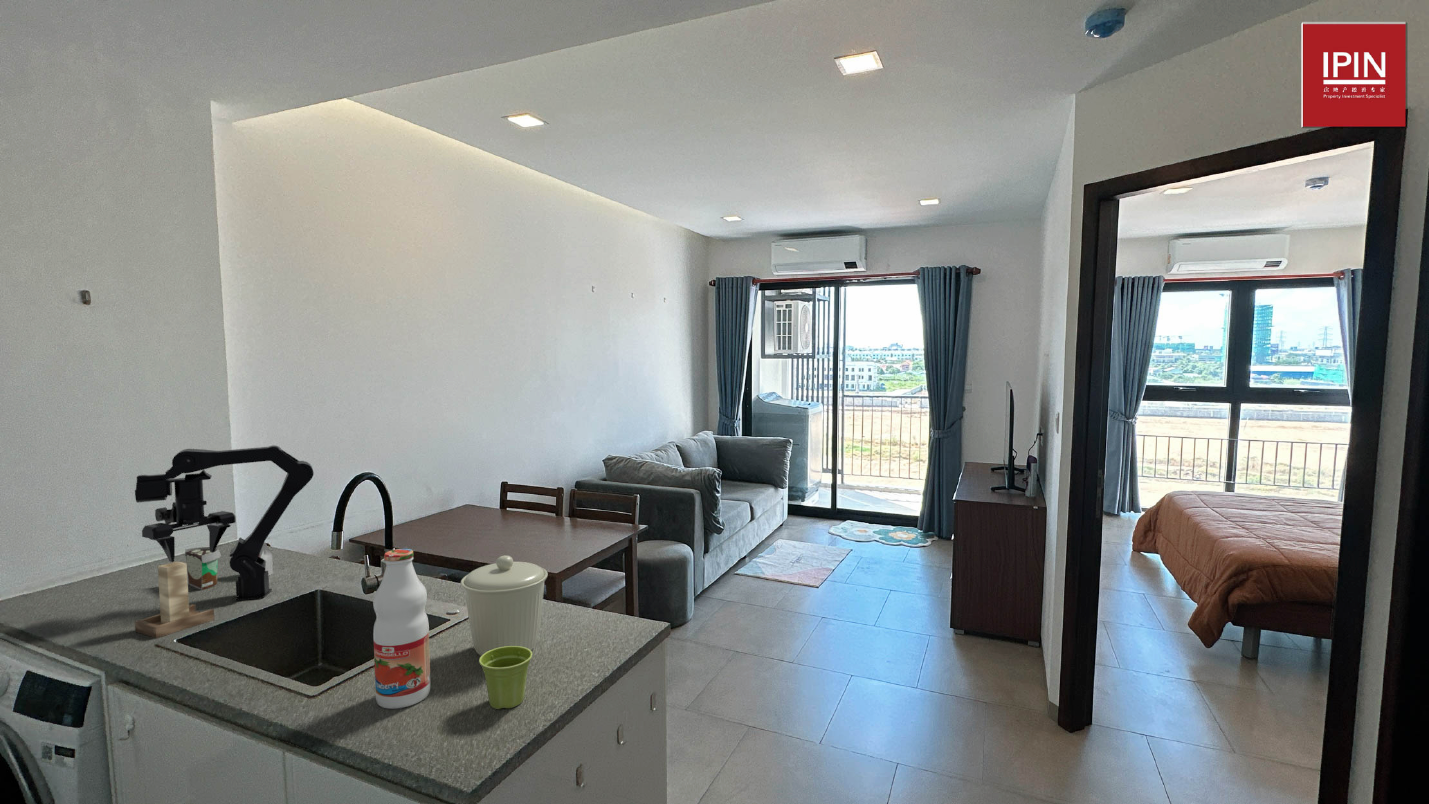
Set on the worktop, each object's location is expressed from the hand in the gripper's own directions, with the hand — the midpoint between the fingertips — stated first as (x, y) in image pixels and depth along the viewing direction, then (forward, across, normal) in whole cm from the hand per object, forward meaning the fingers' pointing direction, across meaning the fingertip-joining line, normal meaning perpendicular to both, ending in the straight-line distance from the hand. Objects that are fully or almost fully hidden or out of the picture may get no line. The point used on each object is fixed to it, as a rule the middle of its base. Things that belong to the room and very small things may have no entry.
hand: (192, 556), depth 170 cm
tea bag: (+13, -22, -11) cm, 28 cm away
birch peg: (+12, +10, +10) cm, 19 cm away
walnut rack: (+13, +9, +11) cm, 19 cm away
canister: (+13, -13, +94) cm, 95 cm away
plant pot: (+13, +4, +109) cm, 110 cm away
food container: (+13, -11, -16) cm, 24 cm away
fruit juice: (+13, +11, +90) cm, 92 cm away
